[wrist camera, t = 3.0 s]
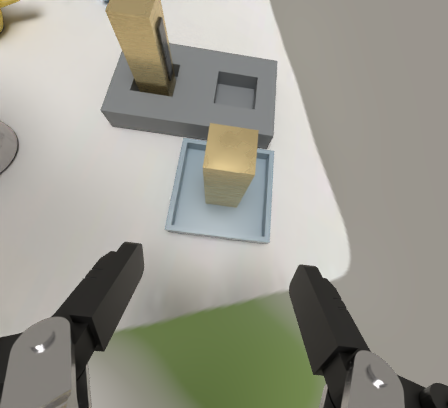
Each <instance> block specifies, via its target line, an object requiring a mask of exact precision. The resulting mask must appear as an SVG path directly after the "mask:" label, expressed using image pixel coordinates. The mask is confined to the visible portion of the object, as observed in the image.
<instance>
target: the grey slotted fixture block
mask: <svg viewBox="0 0 448 408" xmlns="http://www.w3.org/2000/svg"><path fill="white" fill-rule="evenodd" d="M169 47H170V52H171V57H172V62H173V68H174V73H175V78H176V84H175V88H174V92H173V96H172V97H171V96H164V95H158V94H151V93H145V92H140V91H139V89H138V86H137V84H136V82H135V79H134V77H133V74H132V72H131V70H130V67H129V65H128V63H127V60H126V58H125V56H124V53H123V51H122V52H121V55H120V58H119V61H118V63H117V66H116V69H115V72H114V74H113V77H112V80H111V83H110V85H109V88H108V91H107V94H106V96H105V99H104V102H103V105H102V107H101V112H102V113H103V114H104V116H105V117H106V118H107V120H108V121H109V122H110V124H111V125H112V126H114V127H121V128H128V129H135V130H142V131H148V132H155V133H162V134H169V135H176V136H183V137H189V138H196V139H203V140H207V138H208V132H209V126H210V123H214V124H220V125H227V126H233V127H240V128H247V129H253V130H259V132H258V145H257V148H264V149H267V147H268V145H269V143H270V142H271V140H272V138H273V134H274V115H275V96H276V77H277V61H274V60H268V59H262V58H256V57H250V56H244V55H238V54H232V53H226V52H219V51H213V50H207V49H201V48H195V47H189V46H183V45H177V44H171V43H169Z"/></svg>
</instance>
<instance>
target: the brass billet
mask: <svg viewBox="0 0 448 408" xmlns="http://www.w3.org/2000/svg"><path fill="white" fill-rule="evenodd" d="M258 132H259V130H253V129H247V128H240V127H233V126H227V125H220V124H214V123H210V126H209V132H208V138H207V144H206V150H205V156H204V162H203V178H204V191H205V203H206V204H213V205H220V206H228V207H235V208H237V206H238V205H239V203H240V201H241V199H242V198H243V196H244V194H245V192H246V190H247V189H248V187H249V185H250V183H251V181H252V180H253V178H254V176H255V170H256V157H257V145H258Z"/></svg>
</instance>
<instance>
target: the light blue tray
mask: <svg viewBox="0 0 448 408" xmlns="http://www.w3.org/2000/svg"><path fill="white" fill-rule="evenodd" d="M206 144H207V141H202V140H196V139H189V138H183V143H182V147H181V152H180V157H179V162H178V167H177V172H176V177H175V182H174V186H173V191H172V196H171V201H170V206H169V211H168V216H167V220H166V225H165V230H167V231H168V232H175V233H183V234H191V235H199V236H207V237H215V238H223V239H231V240H238V241H246V242H254V243H262V244H266V243H270V223H271V203H272V183H273V163H274V151H271V150H264V149H257V157H256V170H255V176H254V178H253V180H252V181H251V183H250V185H249V187H248V189H247V190H246V192H245V194H244V196H243V198H242V199H241V201H240V203H239V205H238V206H237V208H235V207H228V206H220V205H213V204H206V203H205V191H204V178H203V162H204V156H205V150H206Z"/></svg>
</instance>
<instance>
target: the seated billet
mask: <svg viewBox="0 0 448 408" xmlns="http://www.w3.org/2000/svg"><path fill="white" fill-rule="evenodd" d="M105 11H106V13H107V16H108V18H109V20H110V23H111V25H112V27H113V30H114V32H115V34H116V37H117V39H118V41H119V44H120V46H121V49H122V51H123V53H124V56H125V58H126V60H127V63H128V65H129V67H130V70H131V72H132V74H133V77H134V79H135V82H136V84H137V86H138V89H139V91H140V92H145V93H151V94H158V95H164V96H171V97H172V96H173V92H174V88H175V84H176V78H175V73H174V68H173V62H172V57H171V52H170V47H169V41H168V36H167V31H166V26H165V21H164V15H163V10H162V5H161V0H109V3H108V5H107V7H106V10H105Z"/></svg>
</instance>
